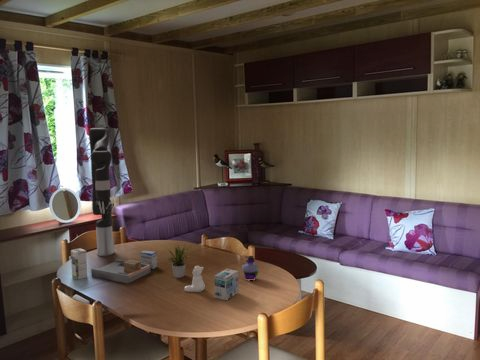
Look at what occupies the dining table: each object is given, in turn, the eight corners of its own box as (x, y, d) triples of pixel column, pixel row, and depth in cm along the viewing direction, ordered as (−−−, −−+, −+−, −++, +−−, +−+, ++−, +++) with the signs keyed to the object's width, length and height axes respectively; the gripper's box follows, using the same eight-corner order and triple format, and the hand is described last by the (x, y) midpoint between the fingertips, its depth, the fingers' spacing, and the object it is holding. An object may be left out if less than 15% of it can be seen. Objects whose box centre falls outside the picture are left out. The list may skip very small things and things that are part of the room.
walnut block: (130, 268, 228) (130, 259, 228) (141, 270, 225) (140, 261, 224) (124, 271, 224) (123, 262, 223) (134, 274, 221) (134, 264, 220)
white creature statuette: (196, 284, 212) (196, 261, 211) (210, 288, 207) (210, 264, 206) (183, 291, 205) (182, 266, 203) (197, 295, 200) (196, 269, 198)
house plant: (200, 275, 224) (200, 245, 222) (179, 283, 214) (178, 251, 212) (182, 269, 234) (182, 240, 232) (162, 276, 224) (161, 245, 222)
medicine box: (140, 267, 238) (139, 252, 237) (145, 265, 242) (144, 249, 241) (152, 269, 235) (152, 253, 234) (157, 266, 239) (156, 251, 238)
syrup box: (71, 277, 223) (70, 250, 221) (82, 274, 228) (81, 247, 226) (77, 280, 219) (75, 252, 217) (88, 277, 224) (86, 249, 222)
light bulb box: (226, 301, 193) (226, 277, 191) (214, 298, 196) (213, 275, 195) (239, 293, 202) (239, 270, 200) (227, 290, 205) (226, 268, 204)
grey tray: (116, 265, 241) (115, 258, 241) (150, 272, 230) (150, 264, 230) (91, 276, 225) (91, 268, 225) (127, 283, 215) (127, 275, 214)
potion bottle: (257, 283, 214) (257, 259, 212) (240, 281, 215) (240, 258, 214) (260, 276, 222) (260, 254, 221) (243, 275, 224) (243, 253, 222)
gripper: (117, 188, 233) (118, 219, 236) (98, 186, 239) (100, 217, 242) (107, 190, 226) (109, 222, 229) (88, 188, 232) (90, 220, 235)
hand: (104, 220), depth 235 cm, fingers closed
